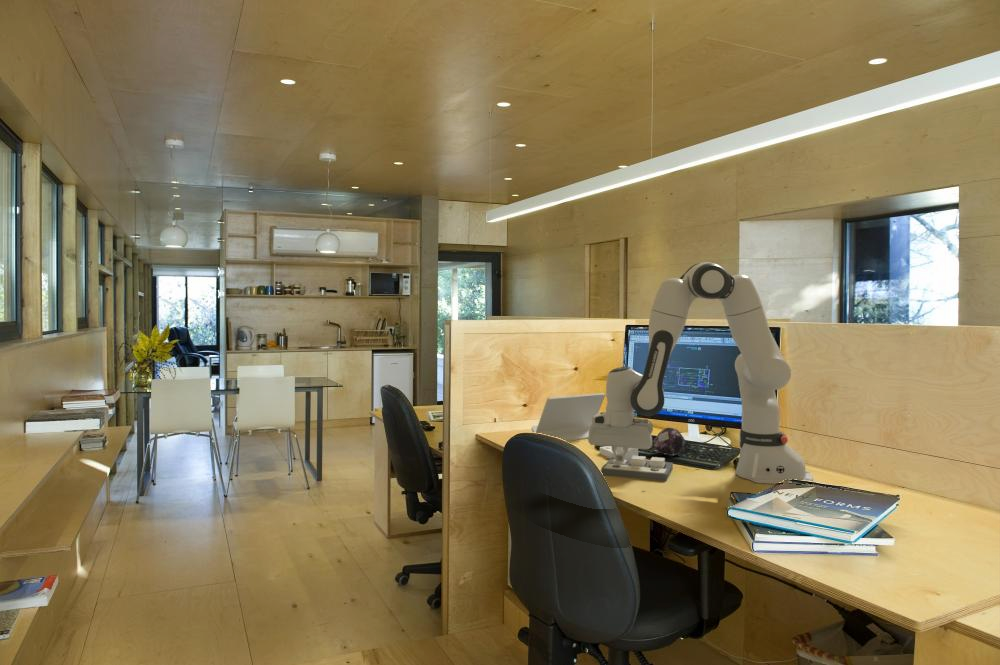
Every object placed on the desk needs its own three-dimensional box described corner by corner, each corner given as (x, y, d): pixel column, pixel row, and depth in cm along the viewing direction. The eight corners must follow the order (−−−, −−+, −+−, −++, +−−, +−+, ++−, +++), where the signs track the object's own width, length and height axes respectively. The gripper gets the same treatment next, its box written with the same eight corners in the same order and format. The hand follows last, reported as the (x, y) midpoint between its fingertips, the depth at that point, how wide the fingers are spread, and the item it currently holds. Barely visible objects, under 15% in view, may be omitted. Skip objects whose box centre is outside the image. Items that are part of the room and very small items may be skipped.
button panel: (672, 471, 226) (672, 461, 226) (666, 484, 213) (666, 473, 213) (611, 466, 234) (611, 456, 233) (601, 477, 221) (601, 467, 220)
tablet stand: (608, 436, 276) (608, 393, 274) (550, 443, 266) (550, 398, 265) (585, 427, 292) (585, 387, 291) (530, 433, 283) (530, 391, 282)
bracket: (638, 463, 237) (638, 441, 237) (620, 466, 235) (620, 444, 234) (616, 454, 249) (617, 433, 249) (599, 457, 246) (599, 435, 246)
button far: (627, 467, 228) (627, 459, 228) (624, 470, 224) (624, 463, 224) (614, 466, 230) (614, 458, 229) (612, 469, 226) (612, 461, 226)
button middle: (645, 464, 226) (645, 456, 226) (643, 467, 222) (643, 459, 222) (633, 463, 227) (633, 455, 227) (630, 466, 224) (630, 458, 223)
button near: (664, 465, 224) (664, 458, 223) (663, 469, 220) (663, 461, 220) (652, 464, 225) (652, 457, 225) (650, 467, 221) (650, 460, 221)
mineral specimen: (645, 447, 250) (655, 421, 251) (670, 457, 253) (680, 431, 253) (658, 453, 241) (668, 426, 241) (683, 463, 243) (694, 436, 244)
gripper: (654, 417, 225) (654, 460, 226) (591, 413, 232) (591, 455, 233) (651, 421, 219) (651, 465, 220) (586, 417, 226) (586, 460, 228)
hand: (619, 460), depth 227 cm, fingers closed
